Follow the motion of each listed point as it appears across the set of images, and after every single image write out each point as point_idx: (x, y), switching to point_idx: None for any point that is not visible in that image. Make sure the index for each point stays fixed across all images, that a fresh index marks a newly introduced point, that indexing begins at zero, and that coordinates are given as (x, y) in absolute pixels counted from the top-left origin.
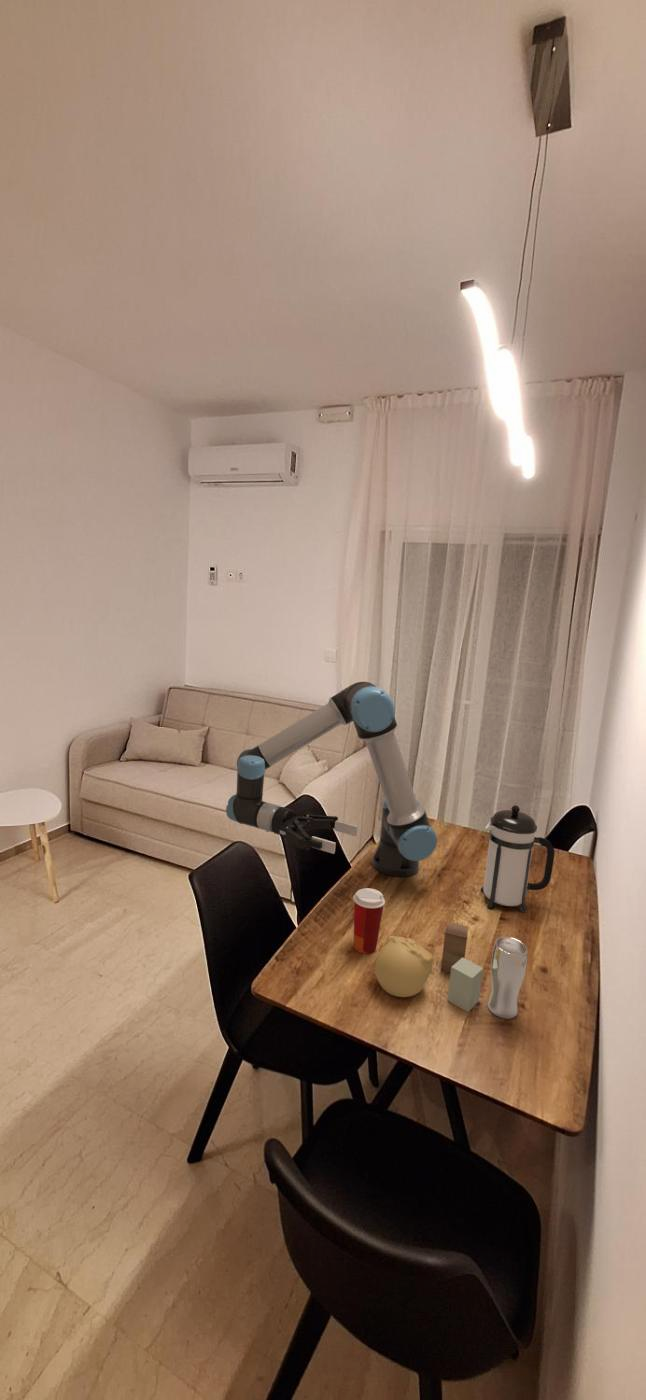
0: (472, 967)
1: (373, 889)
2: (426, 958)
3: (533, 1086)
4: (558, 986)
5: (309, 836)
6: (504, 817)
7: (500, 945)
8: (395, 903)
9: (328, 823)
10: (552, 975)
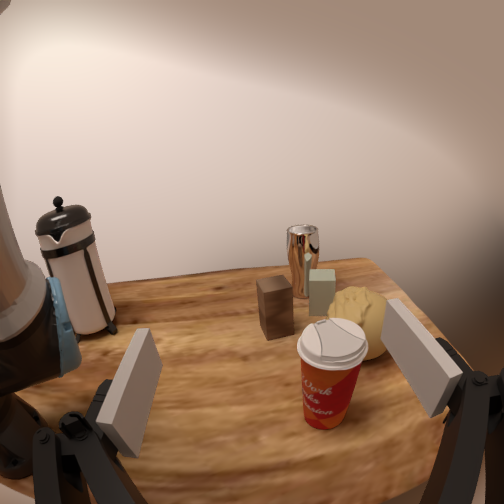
0: (317, 273)
1: (305, 341)
2: (354, 286)
3: (361, 267)
4: (237, 279)
5: (467, 387)
6: (67, 210)
7: (294, 243)
8: (145, 429)
9: (121, 476)
10: (223, 284)
